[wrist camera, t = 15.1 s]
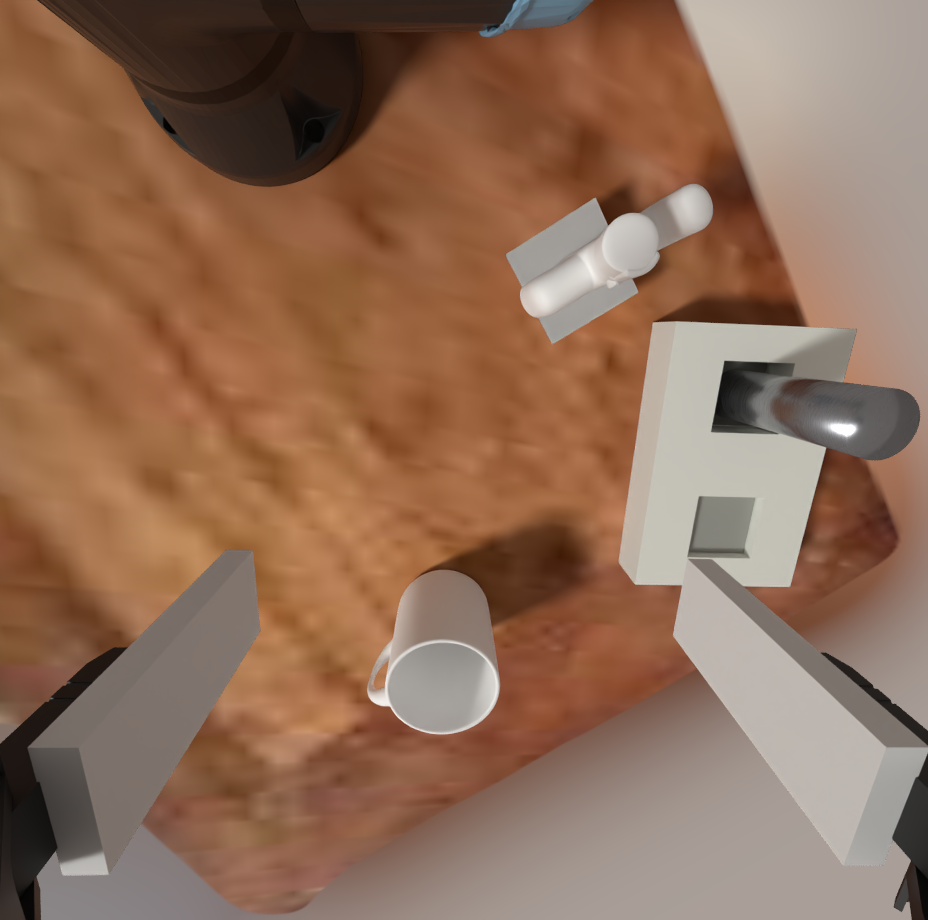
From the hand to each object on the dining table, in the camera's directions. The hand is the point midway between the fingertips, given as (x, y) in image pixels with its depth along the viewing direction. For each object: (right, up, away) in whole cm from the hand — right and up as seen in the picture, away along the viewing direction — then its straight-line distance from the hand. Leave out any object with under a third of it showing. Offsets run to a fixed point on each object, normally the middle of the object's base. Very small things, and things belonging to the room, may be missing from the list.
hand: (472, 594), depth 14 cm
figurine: (+8, +19, +23) cm, 31 cm away
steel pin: (+22, +10, +25) cm, 35 cm away
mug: (-4, -11, +31) cm, 33 cm away
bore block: (+22, +5, +27) cm, 35 cm away
